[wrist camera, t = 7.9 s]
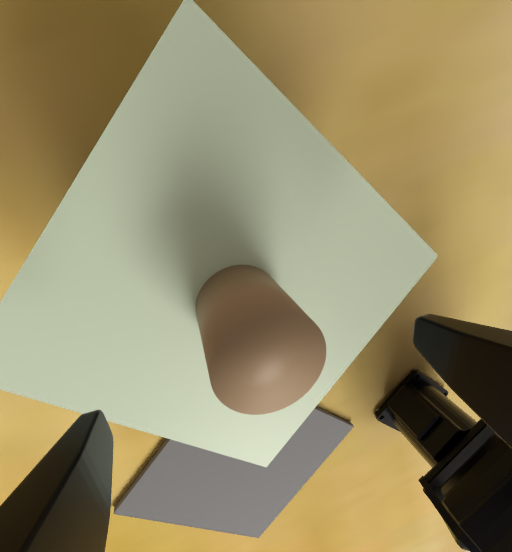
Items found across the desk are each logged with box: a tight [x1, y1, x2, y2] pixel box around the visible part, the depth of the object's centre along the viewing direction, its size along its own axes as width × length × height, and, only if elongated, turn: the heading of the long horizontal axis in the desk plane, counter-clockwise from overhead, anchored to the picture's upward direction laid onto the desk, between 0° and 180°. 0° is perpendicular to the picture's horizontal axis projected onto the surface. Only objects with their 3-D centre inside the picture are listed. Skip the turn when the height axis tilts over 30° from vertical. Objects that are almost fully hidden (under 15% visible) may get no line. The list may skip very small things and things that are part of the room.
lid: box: [0, 0, 438, 467], centre depth 10 cm, size 14×14×5 cm
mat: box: [114, 407, 354, 538], centre depth 27 cm, size 16×16×1 cm
